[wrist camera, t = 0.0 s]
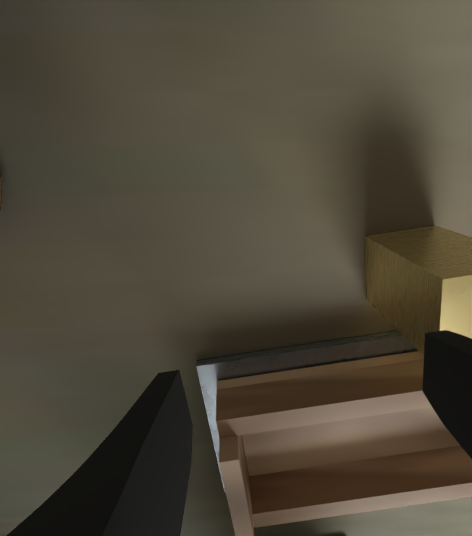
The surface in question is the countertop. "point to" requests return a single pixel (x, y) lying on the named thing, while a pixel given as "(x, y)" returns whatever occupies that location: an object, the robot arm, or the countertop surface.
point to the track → (291, 364)
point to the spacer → (421, 281)
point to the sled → (334, 443)
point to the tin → (0, 192)
